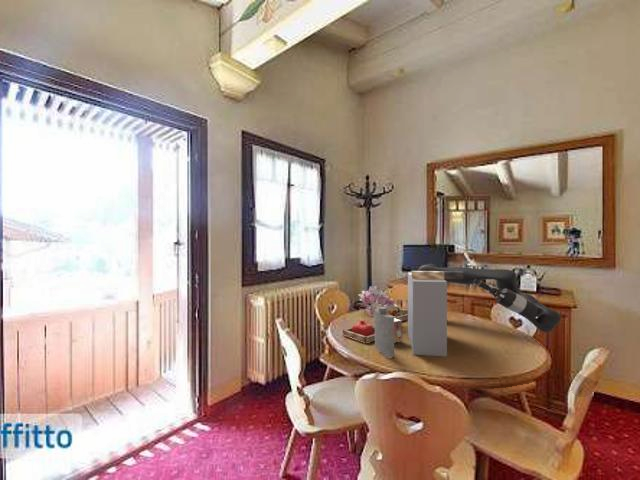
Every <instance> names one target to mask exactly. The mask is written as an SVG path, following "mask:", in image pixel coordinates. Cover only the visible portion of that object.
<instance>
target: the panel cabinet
mask: <svg viewBox="0 0 640 480" xmlns="http://www.w3.org/2000/svg"><path fill="white" fill-rule="evenodd" d="M407 310H408V320H407V334H409V335H408V339H409V342H410V347H411V352H412V355H417V356H433V357H436V356H437V357H448V282H447V281H445V280H444V279H425V278H411V271H407Z"/></svg>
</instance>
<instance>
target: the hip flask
mask: <svg viewBox="0 0 640 480" xmlns="http://www.w3.org/2000/svg"><path fill="white" fill-rule="evenodd" d="M386 310H387V308H386V307H379V308H378V309H375V320H374V324H375V342H374V348H375V347H376V348H377V349H378V350H379V351H380V352H381V353H382V354H384V355H385V356H387V357H391V358H390V359H393V358H392V357H394V358H395V343H394V316H392V315H389V314H387V313H386ZM376 348H375V349H376ZM377 349H376V350H377ZM378 350H377V351H378ZM379 351H378V352H379ZM380 352H379V353H380ZM381 353H380V354H381ZM382 354H381V355H382ZM384 355H383V356H384ZM385 356H384V357H385ZM387 357H386V358H387Z"/></svg>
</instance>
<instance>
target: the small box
mask: <svg viewBox="0 0 640 480" xmlns="http://www.w3.org/2000/svg"><path fill="white" fill-rule="evenodd" d="M402 333H403V321H401V320H399V319H396V318H394V344H396V342H398V343H402V341H403V339H402V338H403V336H402V335H403V334H402Z"/></svg>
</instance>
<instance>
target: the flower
mask: <svg viewBox="0 0 640 480" xmlns="http://www.w3.org/2000/svg"><path fill="white" fill-rule="evenodd" d="M357 296H359V298H360V299H359V301H361V302H363V305H364V306H365V307H366V309H367V310H370V311H369V312H368V315H371V312H373V314H372V316H373V317H372V318H373V320H374V321H375V309H377V308H379V307H386V308H387V310H386V311H388V310H389V309H391V310H393V309H394V310H397V309H396V308H395V306H394V305H393V304H396V301H395V299H394V298H390V296H388V295H387V292H386V291H384V290H383V291H382V289H377V285H376V286H375V285H373V286H372V285H370V286H369V288H368V290H366V291H365V290H361V293H359V294H358V295H357ZM380 304H381V305H380ZM384 305H385V306H384ZM374 307H375V308H374ZM397 312H398V310H397ZM387 314H388V313H387ZM370 325H371V326H372V327H375V323H371V324H370Z"/></svg>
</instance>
